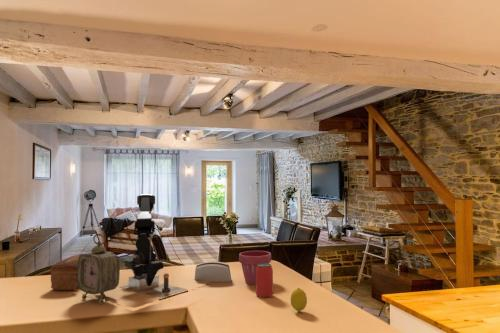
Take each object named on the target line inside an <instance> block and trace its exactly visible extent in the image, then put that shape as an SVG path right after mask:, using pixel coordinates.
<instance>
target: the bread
mask: <svg viewBox="0 0 500 333" xmlns="http://www.w3.org/2000/svg"><path fill="white" fill-rule="evenodd" d="M81 254H82V253H80V254H75V255H71V256H69V257H67V258H64V259H62V260H59V261H58V262H56V263H54V264H53V265H51V267H50V282H51V283H50V284H51V286H50V288H51V289H52V290H56V291H73V290H76V289H79V286H78V272H77V271H78V259H79V256H80V255H81Z"/></svg>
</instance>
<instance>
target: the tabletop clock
mask: <svg viewBox="0 0 500 333" xmlns="http://www.w3.org/2000/svg"><path fill="white" fill-rule="evenodd" d="M97 236H99V237H100V236H101V237H102V239H103V242H101V241H100V240H98V241H96V237H97ZM105 242H106V239H105V236H104V234H102V233H95V234H94V236H93V243H94V244H96V245H95V246H94V247H93V248H92V249H91V252H87V253H80V254H81V255H80V256H79V259H78V271H77V272H78V286H79V288H78V289H79V290H80V291H81V292H84V293H85V294H83V295H81V299H82V300H85V299H87V295H88V294H90V295H98V294H100V299H99V300H98V304H99V305H102V304H104V299H103V297H106V296H107V295H106V294H105V292H109V291H113V290H115V289H116V288H117V287H118V286H119V284H120V274H121V273H120V266H121V265H120V258H119V256H118V255H117V254H115V253H113V252H110V251H107V249H106V247H105V246H104V244H105Z"/></svg>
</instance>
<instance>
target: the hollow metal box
mask: <svg viewBox="0 0 500 333" xmlns="http://www.w3.org/2000/svg"><path fill="white" fill-rule="evenodd" d="M159 280H160V278H159V275H158V274H156V275H155V277H154V279H153V282H152V284H151V286H148V280H147V273H146V274H142V275H138V276H134V275H133V276H129V277H128V285H129V288H133V289H137V290H141V289H144V288H148V287H152V286H155V285H159V283H160V281H159Z"/></svg>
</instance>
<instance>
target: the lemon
mask: <svg viewBox="0 0 500 333" xmlns="http://www.w3.org/2000/svg"><path fill="white" fill-rule="evenodd" d="M307 304H308V297H307V294H306V292H305V291H304V290H303V289H301V288H300V287H297V288H295V289H294V290H293V291H292V292H291V294H290V305H291V307H292V308H293V309H294V310H295V311H297V312H298V313H300V312H301V311H303V310H305V308H306V307H307Z"/></svg>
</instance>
